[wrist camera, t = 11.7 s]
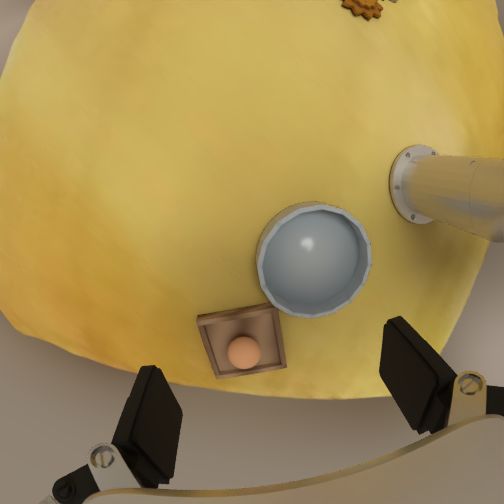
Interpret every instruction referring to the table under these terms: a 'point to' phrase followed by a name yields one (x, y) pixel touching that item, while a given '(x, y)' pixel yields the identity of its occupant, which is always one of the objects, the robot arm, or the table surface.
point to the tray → (243, 325)
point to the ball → (244, 352)
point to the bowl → (313, 259)
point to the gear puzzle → (365, 7)
